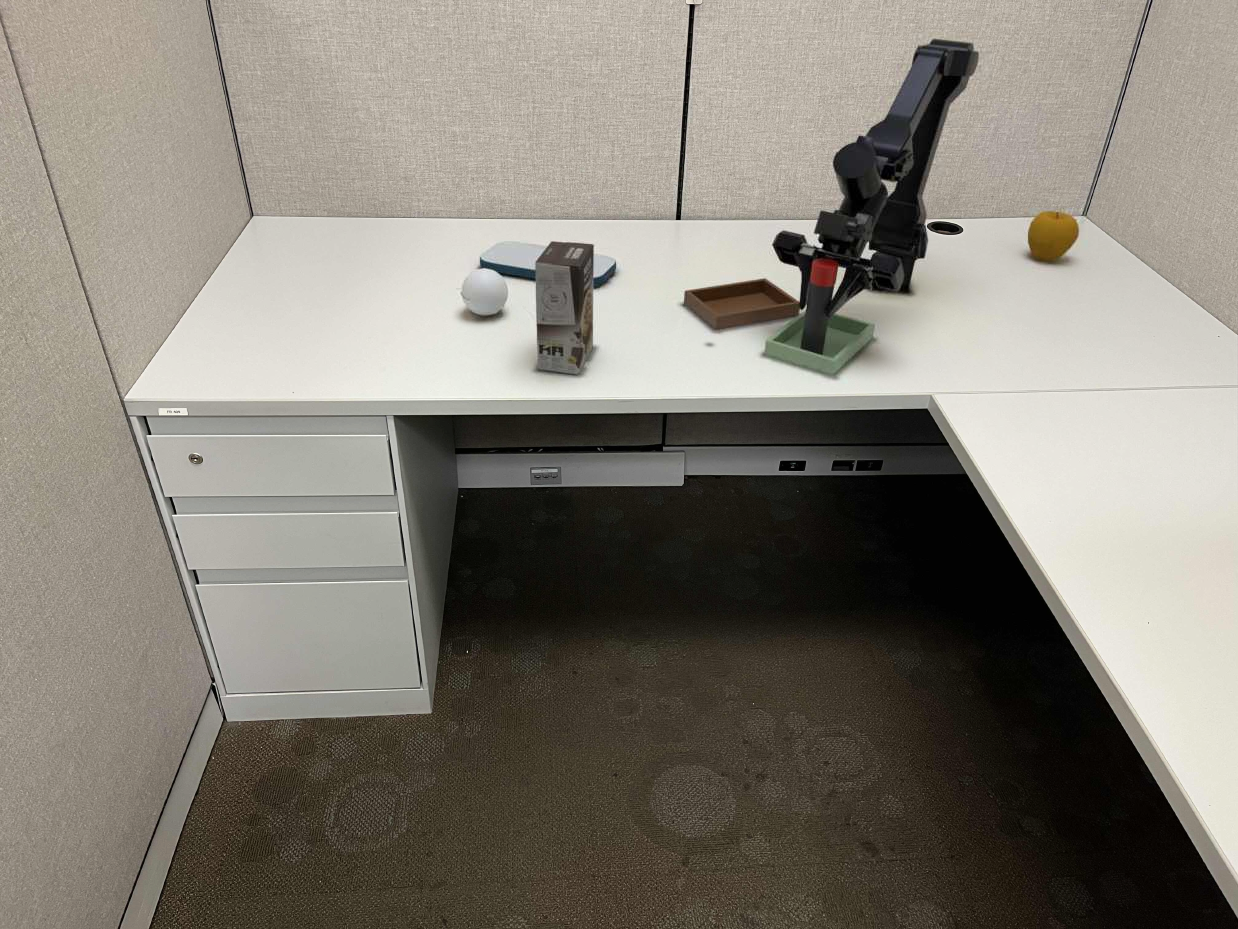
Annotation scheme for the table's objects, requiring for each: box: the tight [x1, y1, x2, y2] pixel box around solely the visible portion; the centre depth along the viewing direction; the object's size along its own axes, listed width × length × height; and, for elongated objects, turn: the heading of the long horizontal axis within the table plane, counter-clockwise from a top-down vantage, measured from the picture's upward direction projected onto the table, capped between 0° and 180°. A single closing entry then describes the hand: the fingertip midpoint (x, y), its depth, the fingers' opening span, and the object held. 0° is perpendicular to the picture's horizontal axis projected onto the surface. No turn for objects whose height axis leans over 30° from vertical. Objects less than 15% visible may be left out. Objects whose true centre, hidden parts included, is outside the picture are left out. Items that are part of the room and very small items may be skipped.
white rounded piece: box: [457, 267, 509, 317], centre depth 139 cm, size 10×7×7 cm
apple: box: [1027, 210, 1080, 263], centre depth 164 cm, size 9×8×9 cm
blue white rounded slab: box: [479, 241, 617, 287], centre depth 156 cm, size 24×12×2 cm, turn 70°
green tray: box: [763, 309, 876, 376], centre depth 132 cm, size 15×11×2 cm
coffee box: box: [535, 240, 595, 375], centre depth 123 cm, size 9×6×16 cm
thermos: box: [800, 258, 839, 355], centre depth 127 cm, size 4×4×14 cm
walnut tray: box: [683, 277, 801, 331], centre depth 143 cm, size 15×11×2 cm
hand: (814, 312), depth 126 cm, fingers open, 4 cm apart
